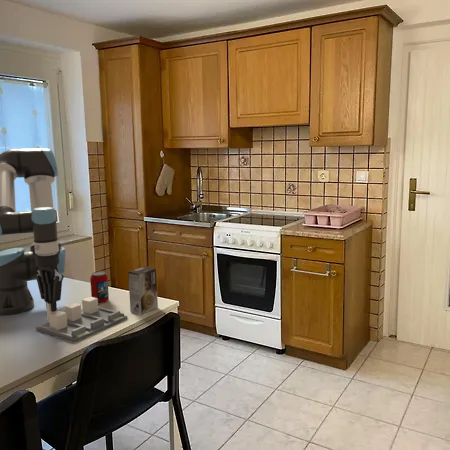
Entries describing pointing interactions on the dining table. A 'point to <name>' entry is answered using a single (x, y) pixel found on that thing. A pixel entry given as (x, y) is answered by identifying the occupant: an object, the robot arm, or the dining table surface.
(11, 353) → the dining table surface
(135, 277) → the coffee box
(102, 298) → the beverage can
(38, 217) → the robot arm
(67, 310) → the beige block
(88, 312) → the cream white block
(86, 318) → the switch board
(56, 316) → the beige block
